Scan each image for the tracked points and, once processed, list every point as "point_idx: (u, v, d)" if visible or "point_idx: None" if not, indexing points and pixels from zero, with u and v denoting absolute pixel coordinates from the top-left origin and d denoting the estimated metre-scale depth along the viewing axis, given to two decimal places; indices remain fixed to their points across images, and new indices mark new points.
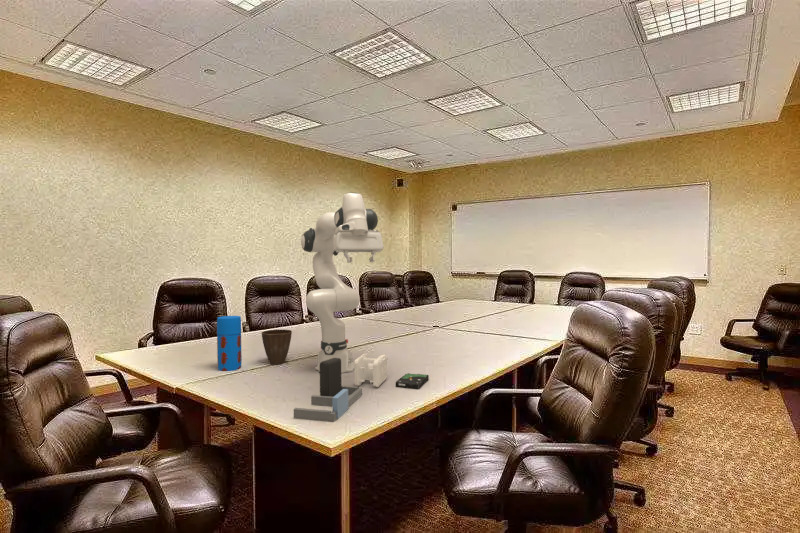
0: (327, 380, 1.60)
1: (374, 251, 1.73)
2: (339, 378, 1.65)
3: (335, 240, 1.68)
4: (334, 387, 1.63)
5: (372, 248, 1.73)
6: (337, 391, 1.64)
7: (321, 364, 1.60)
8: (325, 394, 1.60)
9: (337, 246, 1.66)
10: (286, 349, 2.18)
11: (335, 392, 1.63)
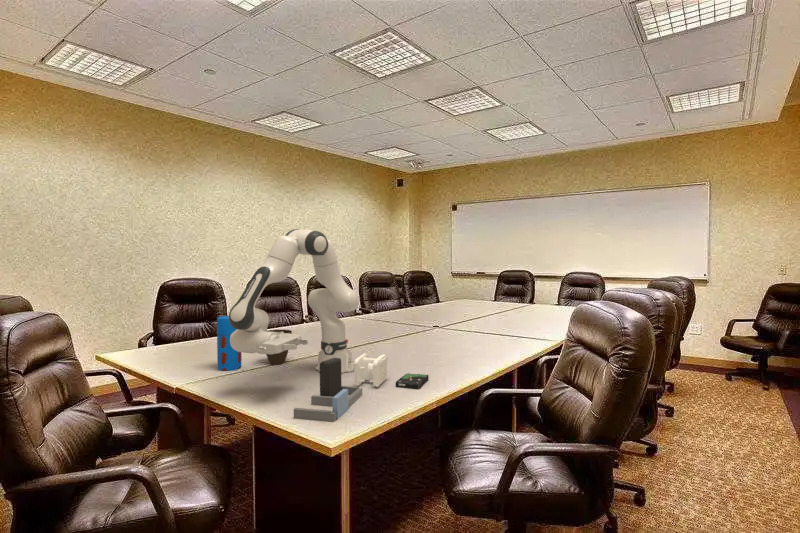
0: (327, 380, 1.60)
1: None
2: (339, 378, 1.65)
3: None
4: (334, 387, 1.63)
5: (283, 350, 1.63)
6: (337, 391, 1.64)
7: (321, 364, 1.60)
8: (325, 394, 1.60)
9: None
10: None
11: (335, 392, 1.63)
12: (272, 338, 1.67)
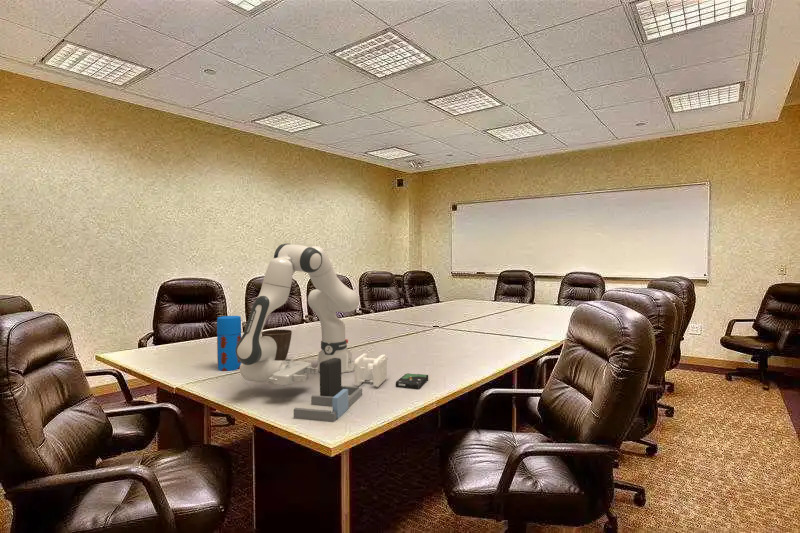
0: (327, 380, 1.60)
1: None
2: (339, 378, 1.65)
3: None
4: (334, 387, 1.63)
5: (293, 381, 1.62)
6: (337, 391, 1.64)
7: (321, 364, 1.60)
8: (325, 394, 1.60)
9: None
10: (286, 349, 2.18)
11: (335, 392, 1.63)
12: (282, 368, 1.67)
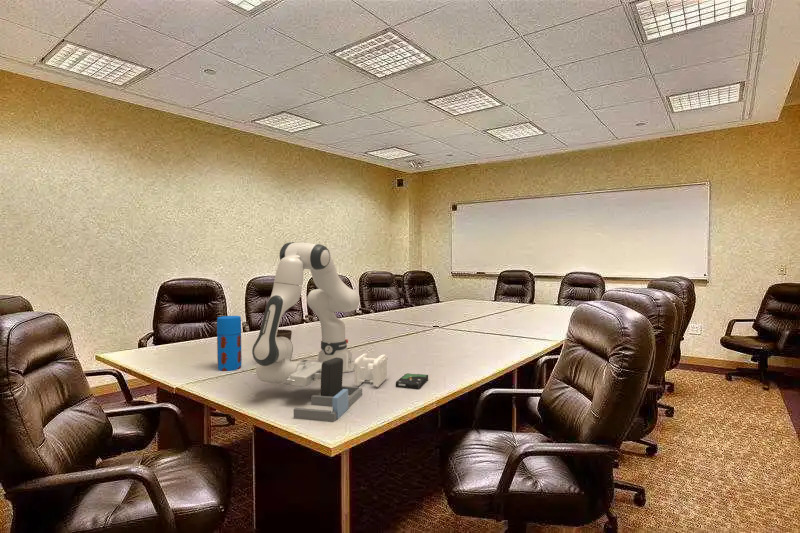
0: (328, 381, 1.59)
1: None
2: (340, 378, 1.65)
3: None
4: (335, 387, 1.63)
5: None
6: (337, 391, 1.64)
7: (323, 364, 1.60)
8: (325, 394, 1.60)
9: None
10: None
11: (335, 392, 1.63)
12: (299, 369, 1.65)
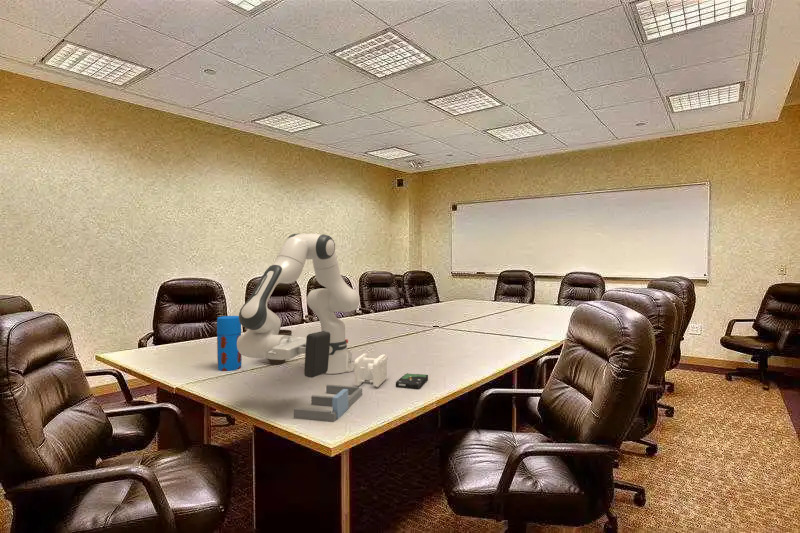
0: (313, 355, 1.47)
1: None
2: (327, 353, 1.53)
3: None
4: (321, 363, 1.51)
5: None
6: (323, 367, 1.52)
7: (308, 336, 1.48)
8: (310, 369, 1.47)
9: None
10: None
11: (321, 368, 1.51)
12: (283, 342, 1.53)
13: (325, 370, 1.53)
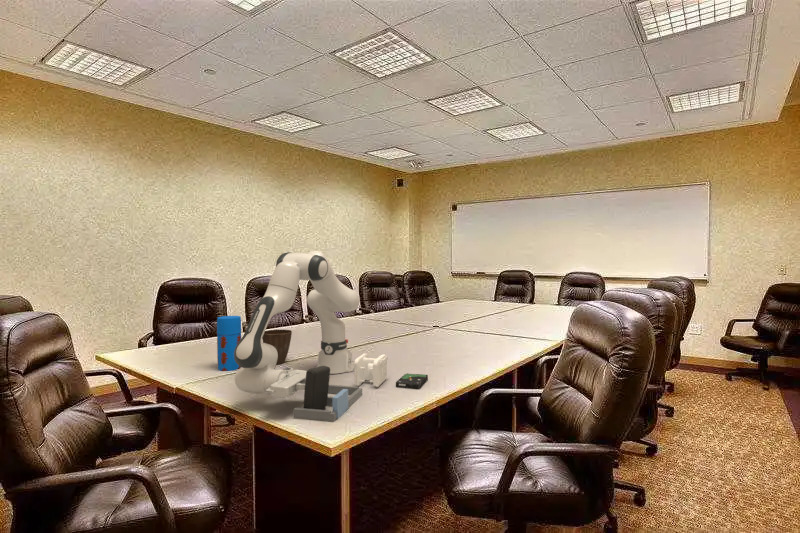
0: (312, 390, 1.47)
1: None
2: (326, 388, 1.52)
3: None
4: (320, 398, 1.50)
5: (293, 393, 1.48)
6: (322, 402, 1.51)
7: (307, 372, 1.47)
8: (309, 405, 1.47)
9: None
10: (286, 349, 2.18)
11: (320, 404, 1.50)
12: (281, 378, 1.52)
13: (324, 405, 1.53)
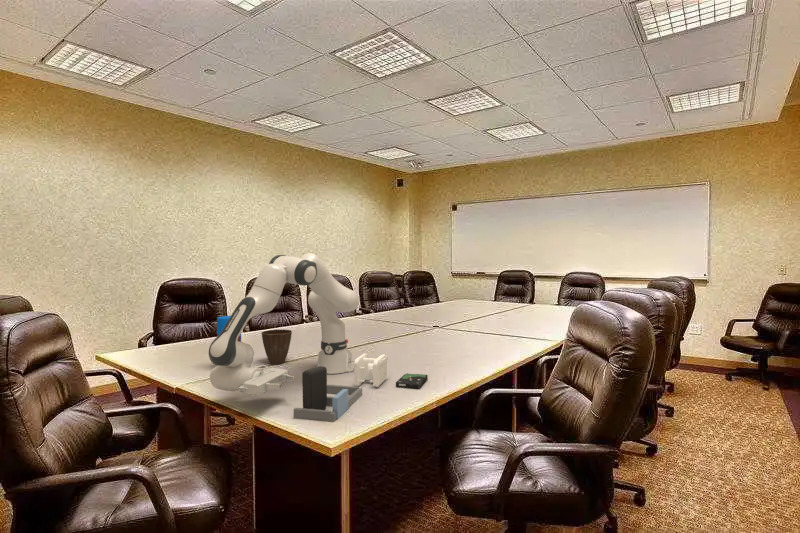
0: (310, 391, 1.47)
1: None
2: (324, 388, 1.53)
3: None
4: (319, 399, 1.50)
5: (266, 390, 1.50)
6: (322, 403, 1.52)
7: (303, 373, 1.48)
8: (308, 406, 1.47)
9: None
10: (286, 349, 2.18)
11: (319, 404, 1.51)
12: (255, 376, 1.54)
13: (324, 405, 1.53)
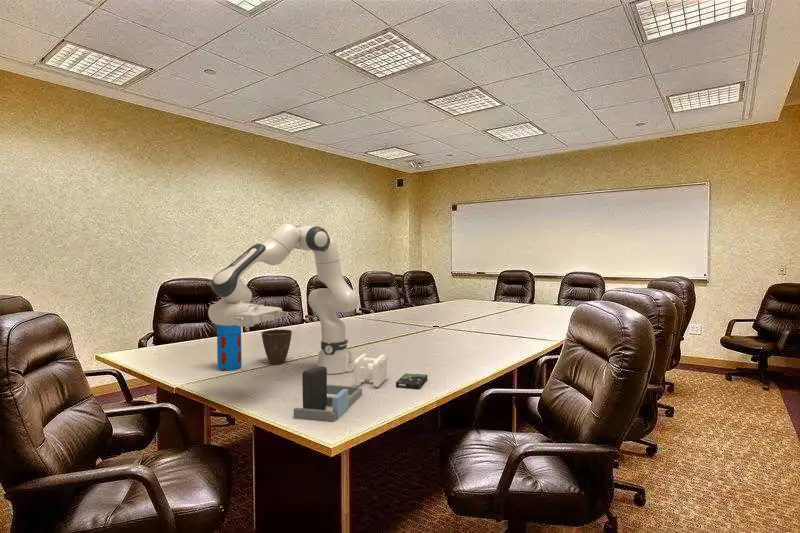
0: (310, 391, 1.47)
1: (262, 320, 1.57)
2: (324, 388, 1.53)
3: None
4: (319, 399, 1.50)
5: None
6: (322, 403, 1.52)
7: (303, 373, 1.48)
8: (308, 406, 1.47)
9: None
10: (286, 349, 2.18)
11: (319, 404, 1.51)
12: (250, 310, 1.62)
13: (324, 405, 1.53)
